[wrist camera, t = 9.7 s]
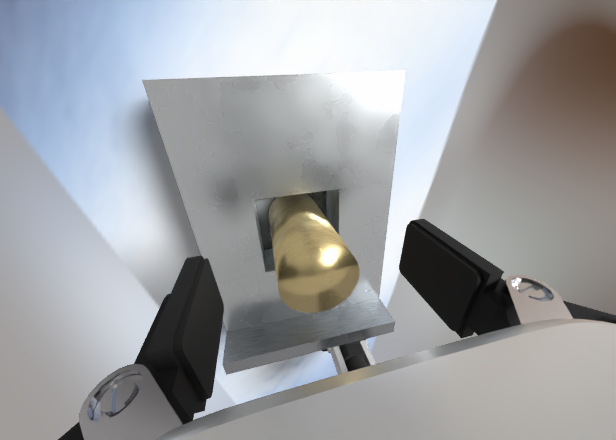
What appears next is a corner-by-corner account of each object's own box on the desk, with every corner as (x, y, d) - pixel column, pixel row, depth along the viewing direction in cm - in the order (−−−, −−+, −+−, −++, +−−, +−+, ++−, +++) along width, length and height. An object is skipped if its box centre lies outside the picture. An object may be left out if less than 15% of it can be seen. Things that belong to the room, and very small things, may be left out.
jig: (166, 87, 12) (108, 69, 7) (377, 79, 14) (439, 60, 10) (233, 312, 20) (226, 374, 15) (363, 285, 22) (393, 331, 18)
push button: (297, 338, 24) (322, 469, 15) (306, 301, 22) (341, 428, 13) (352, 334, 26) (404, 449, 17) (365, 300, 23) (431, 410, 15)
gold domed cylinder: (264, 194, 16) (272, 254, 9) (316, 187, 17) (361, 239, 10) (271, 240, 18) (283, 320, 11) (318, 232, 19) (357, 303, 12)
